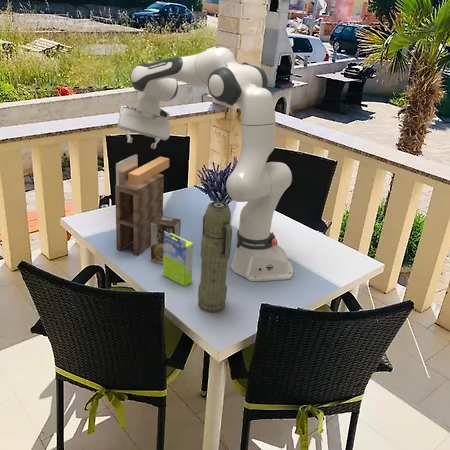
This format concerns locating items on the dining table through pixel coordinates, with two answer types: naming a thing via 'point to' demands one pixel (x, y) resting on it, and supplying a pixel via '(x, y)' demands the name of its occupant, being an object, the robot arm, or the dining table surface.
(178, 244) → the box
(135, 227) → the shelf
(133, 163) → the bookend
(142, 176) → the orange rectangular bar
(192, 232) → the dining table surface
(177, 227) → the coffee box
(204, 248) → the thermos
